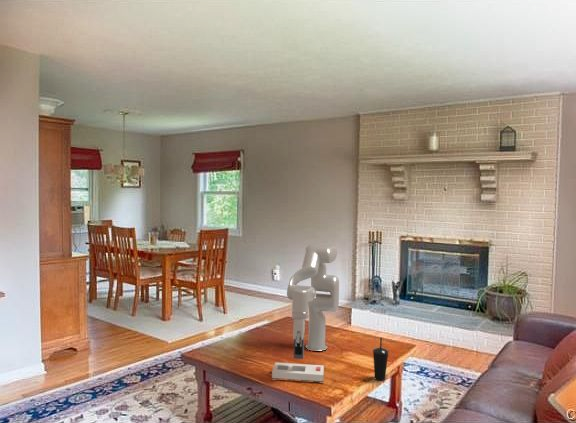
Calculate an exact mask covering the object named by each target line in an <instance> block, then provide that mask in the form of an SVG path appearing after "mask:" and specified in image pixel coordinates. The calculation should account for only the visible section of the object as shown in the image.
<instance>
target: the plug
mask: <svg viewBox="0 0 576 423" xmlns="http://www.w3.org/2000/svg"><path fill="white" fill-rule="evenodd" d="M300 340H301V338H300ZM295 346H296V339H294V340H293V359H295V360H304V356H305V337H303V340H302V345H301V346H302V355H296V354H295Z"/></svg>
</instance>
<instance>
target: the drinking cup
mask: <svg viewBox="0 0 576 423" xmlns="http://www.w3.org/2000/svg"><path fill="white" fill-rule="evenodd" d="M379 338H380V339H379V340H380V341H379V345H380V346H379V347H375V348H373V349H372V353H373V354H372V355H373V369H374V379H375V378H376V379H375V380H377V381H378V382H379V381H381V382H382V381H383V382H384V381H385V380H386V375H387V374H386V373H387V367H388V358H389V357H388V356H389V353H390V351H389V350H388V349H386V348H384V347H382V342H383V337H381V336H380V337H379Z"/></svg>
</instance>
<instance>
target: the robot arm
mask: <svg viewBox="0 0 576 423" xmlns="http://www.w3.org/2000/svg"><path fill="white" fill-rule="evenodd" d="M337 254H338V249H337V248H336V246H334V245H324V244H323V245H322V244H309V245H307V246H306V247H305V253H304V257H303V262H302V265H301V266H302V267H301V268H300V269H298V270H297V271H296V272H295V273H294V274H293V275H292V276H291V277H290V279H289V282H288V284H287V288H286V297H287V298H288V300H289V301H292V304H291V305H292V306H291V319H293V327H292V328H293V329H292V340H293V341H294V339H296V346H295V354H296V355H302V346H301V345H302V340H303V337H304V336H305V332H306V331H305V330H306V329H305V327H306V320H307V319H308V338H307V339H308V340H307V342H308V343H306V345H304V348H305V347H306V348H307V349H309V350H315V351H322V350H326V349H327V348H328V345H326V320H327V319H326V316H325V313H324V312H329V313H330V312H331V313H334V312H337V311H338V310H339V305H340V304H339V303H340V302H339V298H340V280H339V278H338V276H337V275H332V274H327V265H326V264H331V263H333V262H334V261H335V260H336V259H337ZM309 279H310V286H309V285H298V283H300V282H303V281H305V280H309ZM319 292H324V293H319ZM325 292H326V293H325ZM327 293H328V294H327ZM329 293H330V294H329ZM300 338H301V340H300ZM304 338H305V337H304ZM306 348H305V349H306ZM307 349H306V350H307ZM309 350H308V351H309ZM327 350H328V349H327ZM327 350H326V351H327Z"/></svg>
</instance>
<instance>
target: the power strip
mask: <svg viewBox="0 0 576 423" xmlns="http://www.w3.org/2000/svg"><path fill="white" fill-rule="evenodd" d="M324 369H325V365H323V364H322V365H319V364H306V363H290V362H274V365H273V368H272V371H271V380H272V379H289V380H301V381H313V382H323V383H324V374H325V370H324Z"/></svg>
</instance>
